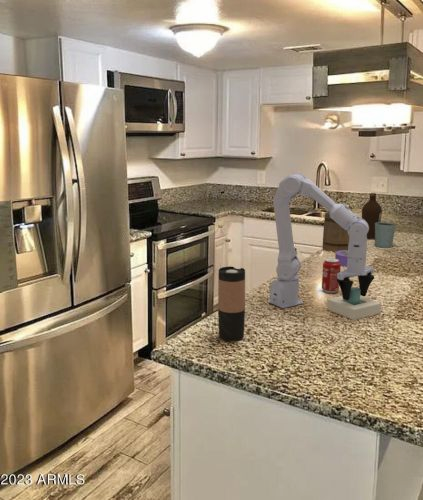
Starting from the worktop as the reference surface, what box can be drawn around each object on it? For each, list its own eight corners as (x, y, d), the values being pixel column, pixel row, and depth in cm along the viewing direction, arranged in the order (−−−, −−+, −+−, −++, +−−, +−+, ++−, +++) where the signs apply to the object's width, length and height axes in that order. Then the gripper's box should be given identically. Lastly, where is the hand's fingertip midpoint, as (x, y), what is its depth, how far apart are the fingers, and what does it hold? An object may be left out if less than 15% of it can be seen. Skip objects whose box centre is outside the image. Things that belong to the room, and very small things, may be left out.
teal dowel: (352, 312, 163) (353, 291, 162) (344, 308, 167) (345, 288, 165) (362, 310, 165) (363, 290, 163) (353, 306, 168) (354, 286, 167)
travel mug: (222, 343, 141) (222, 274, 136) (214, 333, 148) (214, 267, 143) (248, 340, 143) (249, 272, 138) (239, 330, 150) (240, 265, 145)
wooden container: (358, 251, 250) (361, 207, 245) (331, 253, 246) (333, 208, 241) (343, 245, 264) (345, 203, 259) (317, 247, 260) (319, 204, 255)
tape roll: (363, 267, 220) (364, 256, 219) (336, 266, 222) (336, 255, 221) (360, 261, 232) (360, 250, 230) (333, 260, 233) (334, 249, 232)
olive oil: (360, 239, 279) (363, 194, 273) (359, 235, 289) (362, 192, 283) (380, 240, 276) (383, 194, 271) (379, 236, 286) (382, 192, 281)
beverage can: (326, 287, 191) (328, 257, 189) (341, 290, 187) (343, 259, 185) (318, 291, 186) (320, 260, 184) (334, 294, 183) (336, 262, 180)
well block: (354, 320, 158) (354, 309, 157) (326, 309, 168) (327, 299, 167) (380, 313, 164) (381, 303, 163) (352, 303, 174) (353, 293, 173)
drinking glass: (370, 244, 265) (371, 222, 262) (387, 244, 267) (389, 221, 264) (379, 248, 255) (381, 225, 253) (397, 248, 257) (399, 225, 254)
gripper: (349, 262, 155) (347, 304, 158) (382, 256, 162) (379, 297, 165) (333, 258, 160) (331, 298, 164) (365, 252, 168) (362, 291, 171)
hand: (354, 297), depth 165 cm, fingers open, 7 cm apart
